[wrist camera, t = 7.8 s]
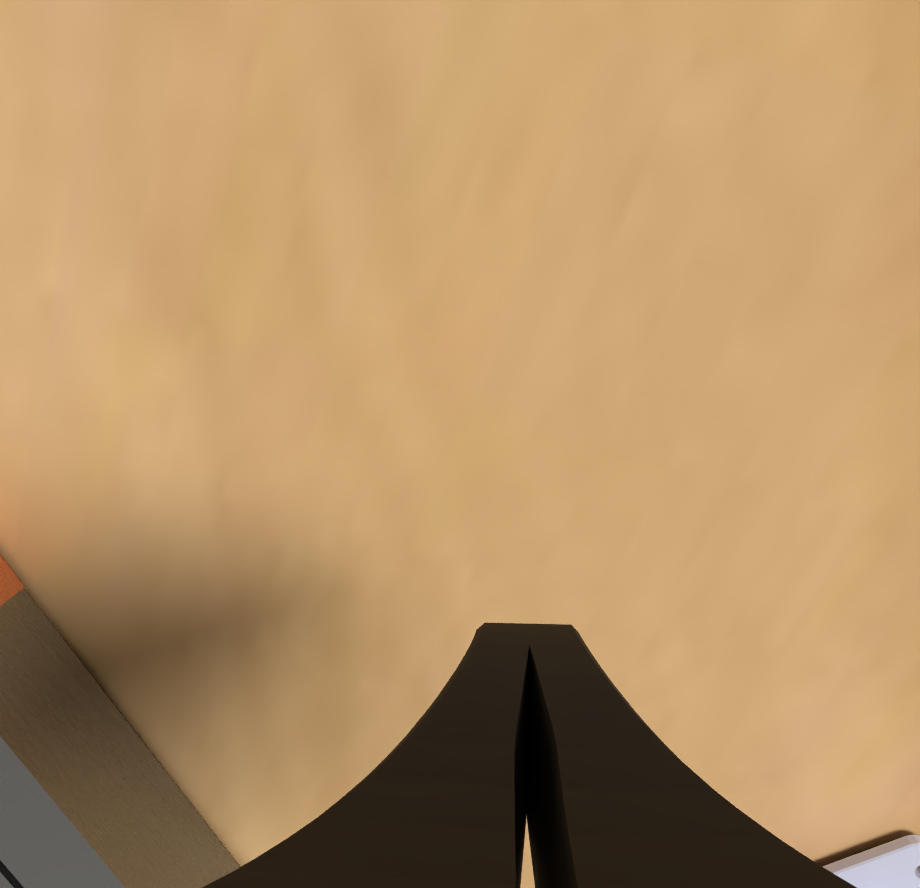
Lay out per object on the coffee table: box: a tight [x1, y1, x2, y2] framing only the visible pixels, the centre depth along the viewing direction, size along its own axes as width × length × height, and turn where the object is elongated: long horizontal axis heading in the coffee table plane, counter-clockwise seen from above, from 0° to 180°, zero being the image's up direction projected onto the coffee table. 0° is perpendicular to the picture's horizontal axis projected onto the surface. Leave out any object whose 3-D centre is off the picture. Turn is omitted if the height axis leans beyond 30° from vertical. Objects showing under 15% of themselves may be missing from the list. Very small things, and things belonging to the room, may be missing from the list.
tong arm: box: [0, 556, 240, 888], centre depth 22 cm, size 21×4×4 cm, turn 30°
